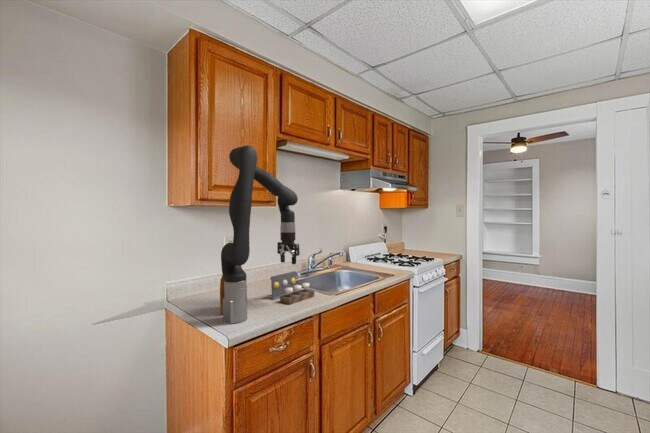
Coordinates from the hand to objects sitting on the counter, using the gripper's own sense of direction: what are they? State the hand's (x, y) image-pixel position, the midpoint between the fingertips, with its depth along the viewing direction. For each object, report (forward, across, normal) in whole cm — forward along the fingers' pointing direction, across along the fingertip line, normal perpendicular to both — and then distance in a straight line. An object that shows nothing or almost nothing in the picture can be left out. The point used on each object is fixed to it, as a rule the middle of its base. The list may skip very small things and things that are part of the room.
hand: (288, 263), depth 156 cm
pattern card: (+20, -10, +6) cm, 23 cm away
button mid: (+15, 0, +6) cm, 16 cm away
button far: (+15, 0, +12) cm, 19 cm away
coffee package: (+20, -10, -25) cm, 34 cm away
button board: (+20, 0, +6) cm, 21 cm away
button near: (+15, 0, 0) cm, 15 cm away
